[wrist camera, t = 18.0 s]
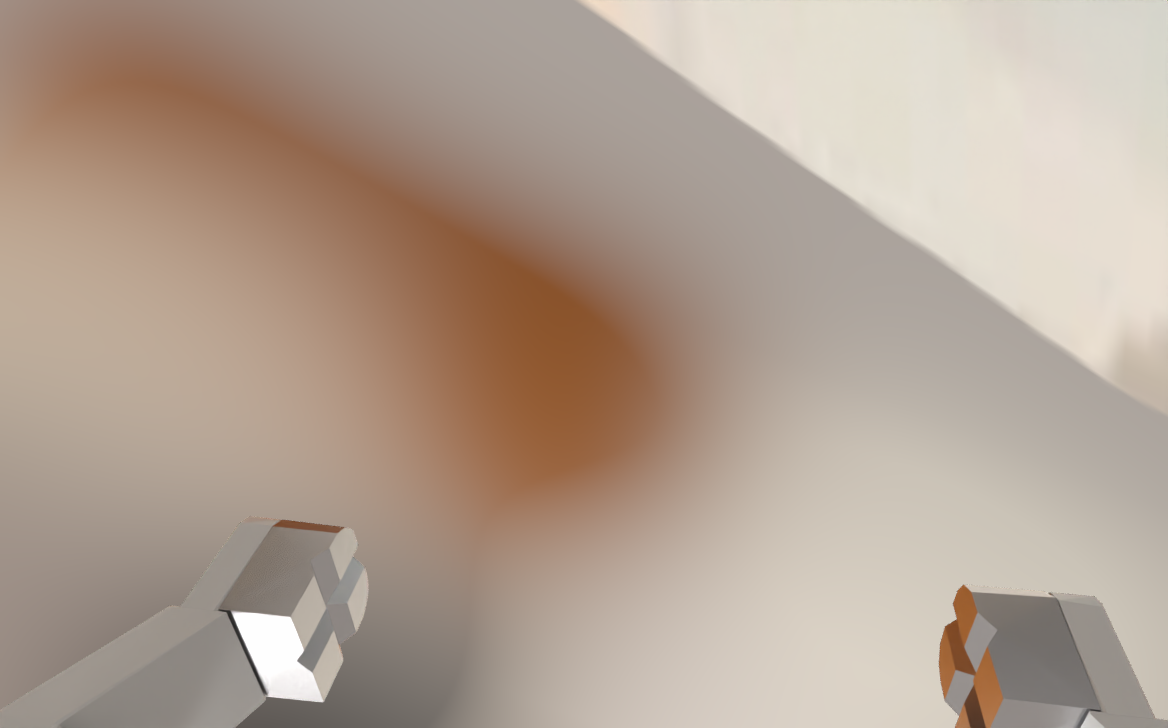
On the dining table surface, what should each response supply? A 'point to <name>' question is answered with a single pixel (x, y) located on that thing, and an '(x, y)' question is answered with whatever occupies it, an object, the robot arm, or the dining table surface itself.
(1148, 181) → the dining table surface
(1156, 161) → the dining table surface
